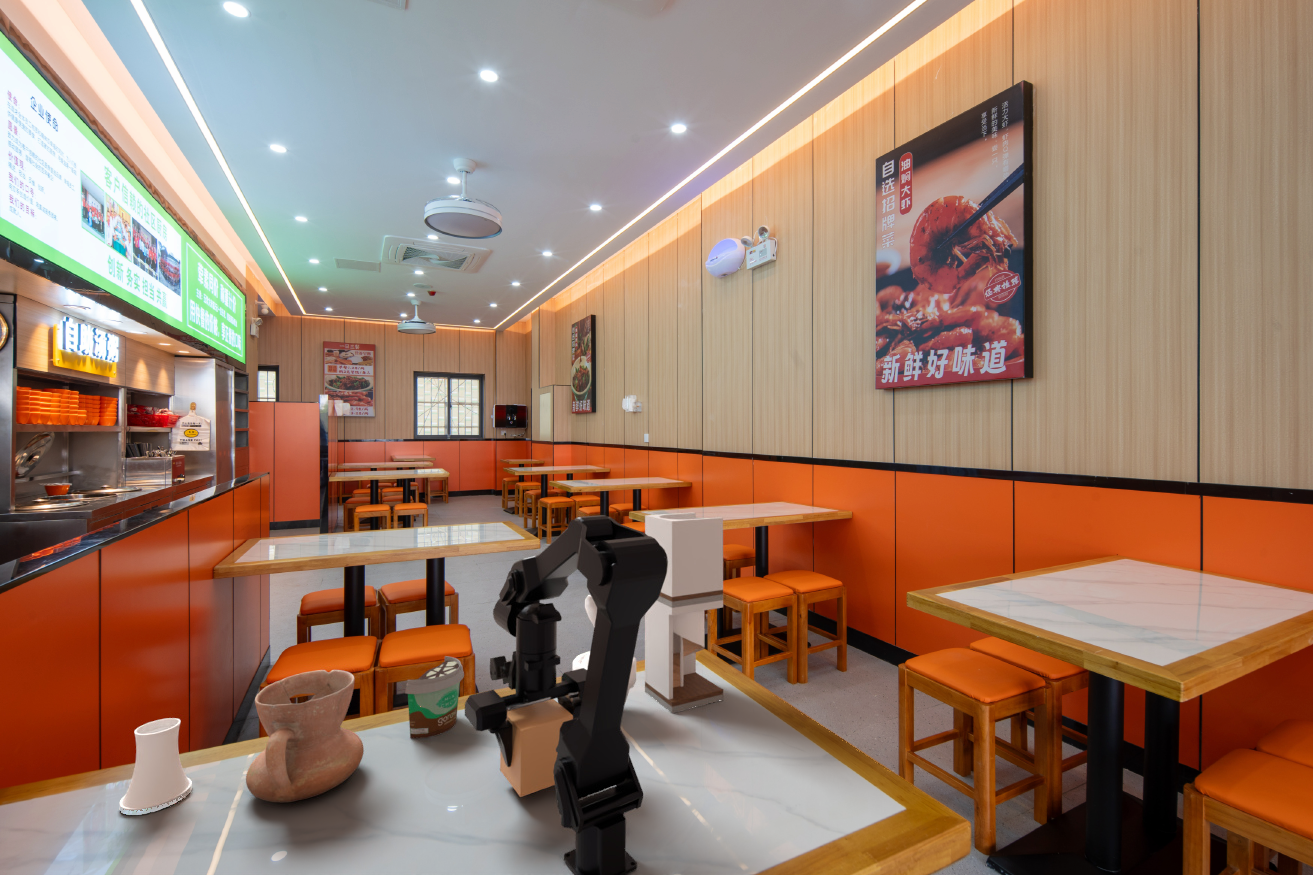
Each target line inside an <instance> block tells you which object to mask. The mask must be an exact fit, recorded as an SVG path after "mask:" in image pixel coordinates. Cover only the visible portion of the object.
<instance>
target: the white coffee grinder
mask: <svg viewBox="0 0 1313 875" xmlns="http://www.w3.org/2000/svg"><path fill="white" fill-rule="evenodd" d="M696 515H697V513H696V512H681V513H679V512H678V513H665V514H664V513H663V514H647V515H646V514H645V515H644V529H645V530H644V533H645V534H646V535H648V536H651V537H653V538H655V539H656V541H657V542H658V543H659V545H660V546H662V547H663V549H664V550H665V552H666V554H667V559H668V568H667V574H666V578H665V581H664V584H663V587H662V589H661V592H660V595H659V598H658V599H657V601H656V602H655V603H654V604H653V605H652V607H651V608H650V609H649V610H648V611H647V612H646V614H645V615H644V692H645V693H646V694H647V693H648V694H649V695H650V696H649V695H648V694H647V695H648V696H649V697H651V698H652V697H653V698H654V699H655V701H656V700H657V701H656V702H657V703H658V702H659V703H658V704H659V705H661V706H662V707H663V706H664V707H663V708H665V710H667V709H668V710H669V711H668V712H670V713H671V714H674V713H675V714H676V713H678V712H682V711H687V710H690V709H689V708H691V709H693V708H692V707H695V706H699V707H702V706H701V705H703V706H706V704H707V705H709V704H708V703H711V704H714V703H713V702H715V703H718V702H717V701H719V700H722V701H724V689H723V688H721V687H720V686H718V685H717V684H715V683H713V682H712V681H710V680H709V679H707V678H705V677H704V676H702V675H701V674H700V673H697V672H696V670H697V667H696V666H697V664H696V660H697V658H696V656H697V653H698V652H700V651H703V650H705V611H708V610H709V611H710V610H715V609H716V610H717V609H720V608H724V517H718V516H717V517H709V518H708V517H707V518H697V517H696ZM653 698H652V699H653ZM654 699H653V700H654ZM719 702H720V701H719ZM695 708H696V707H695ZM686 709H687V710H686Z"/></svg>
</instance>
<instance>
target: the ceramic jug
mask: <svg viewBox="0 0 1313 875" xmlns="http://www.w3.org/2000/svg"><path fill="white" fill-rule="evenodd" d="M355 680H356V679H355V675H353V674H352V673H351V672H349V671H345V670H341V669H332V670H331V671H329V672H328V671H327V670H325V669H319V670H312V671H305V672H301V673H298V674H293V675H290V676H287V677H285V678H283V679H280V680H278V681H277V680H276V681H275V682H273V683H271V684H269V685H267V686H265V687H264V688H262V689H261V690H260V691H259V692H258V693H257V694H256V696H255V699H254V703H255V708H256V712H257V715H258V718H259V721H260V723H261V725H262V727H263V729H264V730H265V733H266V734H267V736H268V740H267V742H266V747H265V749H264V750H262V752H260V753H259V754H258V755H257V756H256V757H255V758H254V760H253V761H252V762H251V763H250V765H249V767H248V770H247V773H246V776H245V783H246V787H247V789H248V791H249V792H250V794H251V795H252V796H253V797H255V798H257V799H260V800H262V801H266V802H270V803H290V802H296V801H297V802H298V801H302V800H307V799H309V798H313V797H316V796H319V795H322V794H323V793H326V792H328V791H330V790H332V789H334V788H336V787H338V786H339V785H340V784H342V783H344V782H345V781H346V780H347V779H348V778H349V777H351V775H352V774H354V773H355V771H356V770H357V769H358V767H359V765H360V763H361V762H362V759H363V755H364V752H365V750H364V745H363V744H364V743H363V741H362V739H361V738H360V736H359V735H358V734H357V733H356V732H354V731H352V730H350V729H347V728H344V727H341V726H342V725H343V724H342V723H343V721H344V720H345V717H346V715H347V712H348V709H349V707H350V703H351V701H352V698H353V697H352V696H353V694H354V693H353V692H354V687H355ZM304 694H306V695H307V694H309V695H310V694H314V695H313V696H312V697H311V699H310V700H306V701H305V702H301V703H292V701H291V700H290V699H291V698H292V697H295V696H297V695H304Z"/></svg>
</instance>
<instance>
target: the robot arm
mask: <svg viewBox="0 0 1313 875" xmlns="http://www.w3.org/2000/svg"><path fill="white" fill-rule="evenodd" d="M667 568H668V559H667V554H666V552H665V550H664V549H663V547H662V546H660V545H659V543H658V542H657V541H656V539H655V538H653V537H651V536H648V535H646V534H645V532H643V531H641V530H639V529H638V530H637V529H635V528H631V527H630V526H627V525H623V524H621V523H619V522H618V521H616V520H615V519H614V518H613V517H611V516H607V515H604V514H600V515H589V516H578V517H575V519H571V520H570V521H569V523H568V526H567V528H566V529H565V530H564V531H563V532H562V533H560V535H558V536H557V537H556V538H555V540H554V541H552V542H551V543H550V544H549V545H548V546H547V547H546V548H545V549H544V550H543V551H542V552H541V553H539V554H537V555H533V556H529V557H525V558H522V559H519V560H517V561H515V562H514V563H513V564H512V566H511V568H510V571H508V573H507V576H506V579H505V582H504V585H503V586H502V588H501V590H500V592H499V594H498V595H499V599H498V600H497V601H496V603H495V605H494V608H493V610H492V615H493V620H494V622H495V623H496V625H498V626H499V627H500V628H501V629H503V630H504V631H506V633H508V634H510V635H511V636H512V637H514V638H515V651H512V655H511V656H512V657H511V660H507V659H506V656H505V655H500V656H496V657H495V656H494V657H492V658H490V661H489V675H490V676H489V678H490V679H491V681H499V680H502V684H503V685H506V684H508V688H509V690H511V691H512V690H513V691H515V693H513V694H512V693H511V694H509V695H504V696H500V695H499V694H498V693H497V691H495V690H494V689H491V690H487V691H483V692H478V693H474V694H469V696H468V697H467V699H466V701H465V703H464V717H465V718H466V720H468V721H469V723H470V724H471V726H472V727H473V728H474V729H475V731H477V732H484V731H488V732H489V733H490V734H494V735H495V738H496V740H497V743H498V746H499V749H500V750H501V752H502V755H503V758H504V761H505V764H506V765H507V767H510V766H511V762H512V735H513V725H512V724H511V723H510V722H509V721H508V720H507V712H508V711H510V710H514V709H517V708H521V707H525V706H529V705H532V704H536V703H540V702H544V701H547V700H551V699H554V700H555V699H557V702H558V703H559V704H560V705H561V706H562V707H564V708H565V709H566V710H567V711H568V712H569V713H571V714H572V715H573V719H572V720H569V721H565V722H563V723H562V725H561V727H560V733H559V742H558V746H557V748H556V752H557V753H558V754H557V758H556V761H555V764H554V770H553V774H554V782H555V785H554V787H555V796H556V804H557V808H558V812H559V815H560V822H561V823H560V825H561V826H562V828H565V829H572V830H573V831H574V833H575V834H574V835H575V836H574V838H575V844H574V845H575V849H572V850H569V851H567V852H564V854H563V861H564V863H566V865H567V866H568V868H569V869H570V871H571V872H572V873H573V874H574V875H627V874H630V873H631V872H633V871H636V870H637V868H638V863H637V860H635V859H634V857H632V855H630V853H629V852H628V851H627V848H626V846H627V845H626V843H627V841H626V840H627V835H626V834H627V829H626V828H627V826H626V825H627V819H626V816H625V815H626V814H625V813H628V812H631V811H633V810H638V809H639V808H641V807H642V803H643V799H644V795H645V794H644V791H643V789H642V785H641V783H640V780H639V778H638V775H637V772H636V770H635V767H634V765H633V761H632V759H631V756H630V749H631V748H630V744H629V742H628V740H627V738H626V736H625V734H624V732H623V730H622V727H621V726H622V720H623V715H624V710H625V704H626V702H625V700H626V701H627V699H626V695H627V689H628V684H629V679H630V673H631V668H632V663H633V658H634V657H635V651H636V648H637V647H636V645H637V641H638V635H639V630H640V626H641V621H642V619H643V618H644V617H645V614H646V612H647V611H648V610H649V609H650V608H651V607H652V605H653V604H654V603H655V602H656V601H657V599H658V598H659V595H660V592H661V589H662V587H663V584H664V581H665V578H666V574H667ZM577 570H578V572H580V573H581V574H582V575H583V577H585V578H586V589H587V590H588V593H589V595H591V597H592V599H593V601H594V603H595V605H596V607H597V615H596V620H595V626H594V627H593V633H592V634H593V635H592V639H591V645H590V650H589V651H590V656H589V662H588V668H587V670H586V669H585V668H581V669H577V670H573V669H572V670H569V671H565V672H563V674H562V675H561V681H560V682H557V666H559V665H561V656H559V655H558V652H557V651H558V649H557V644H558V643H557V642H558V641H557V640H558V639H557V635H558V634H557V633H558V629H557V628H558V622H562V615H561V612H560V611H559V610H558V609H557V608H556V607H555V605H554V603H553V602H549V603H542V602H541V601H544V600H545V601H546V600H550V599H551V600H552V599H555V598H559V597H561V595H562V594H563V593H564V592H565V591H566V589H567V588H568V586H569V585H570V584H569V579H568V578H569V576H571V575H572V574H573V573H575V572H576V571H577Z"/></svg>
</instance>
